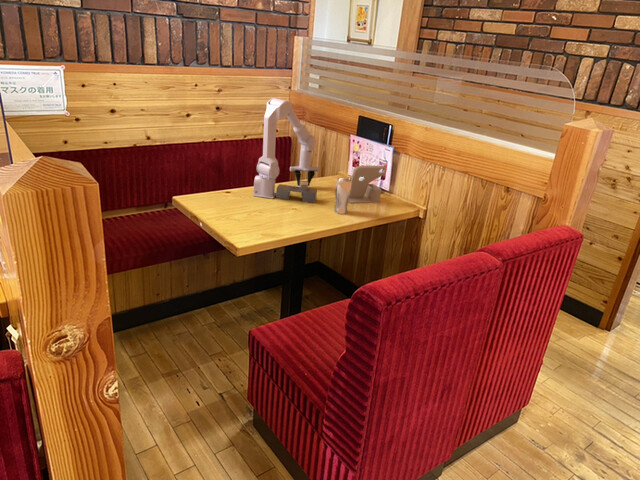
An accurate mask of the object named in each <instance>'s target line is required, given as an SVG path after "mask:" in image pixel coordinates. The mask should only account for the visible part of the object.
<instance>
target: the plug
mask: <svg viewBox="0 0 640 480" xmlns="http://www.w3.org/2000/svg"><path fill="white" fill-rule="evenodd" d="M298 187H303V188H309V186H308V181H307V180H301V179H300V186H298ZM301 197H303V193H301Z"/></svg>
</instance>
